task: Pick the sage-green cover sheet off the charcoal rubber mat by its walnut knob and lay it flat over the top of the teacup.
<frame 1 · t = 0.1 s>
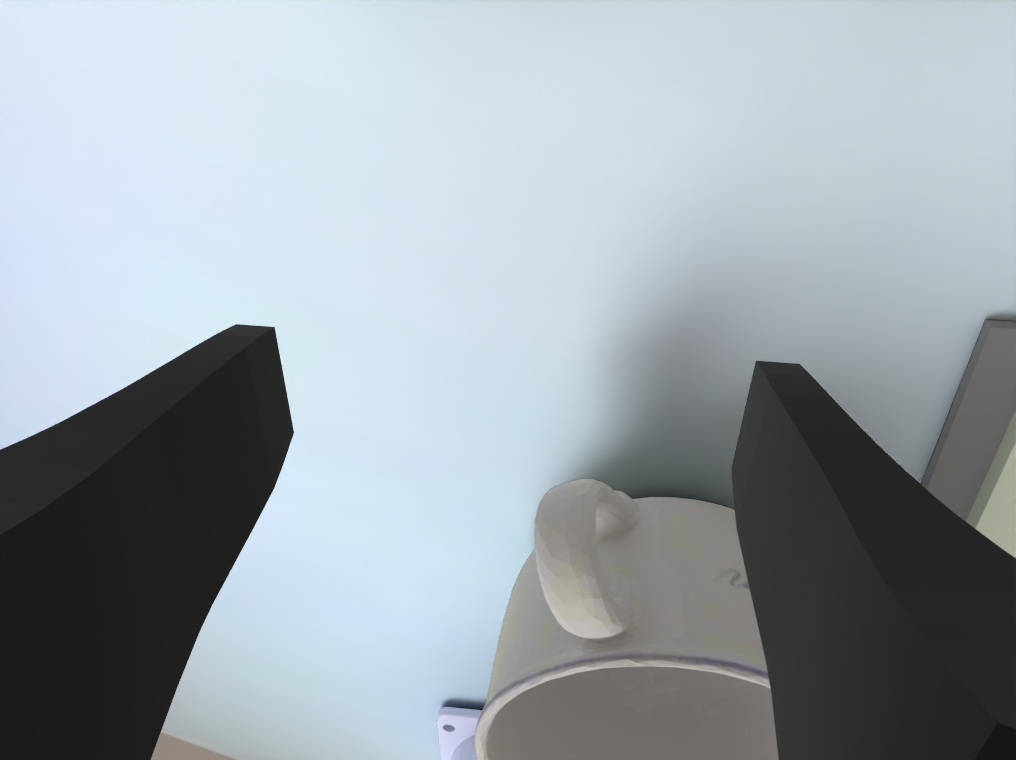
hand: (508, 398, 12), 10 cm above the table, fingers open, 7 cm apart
teacup: (650, 528, 27), on the table
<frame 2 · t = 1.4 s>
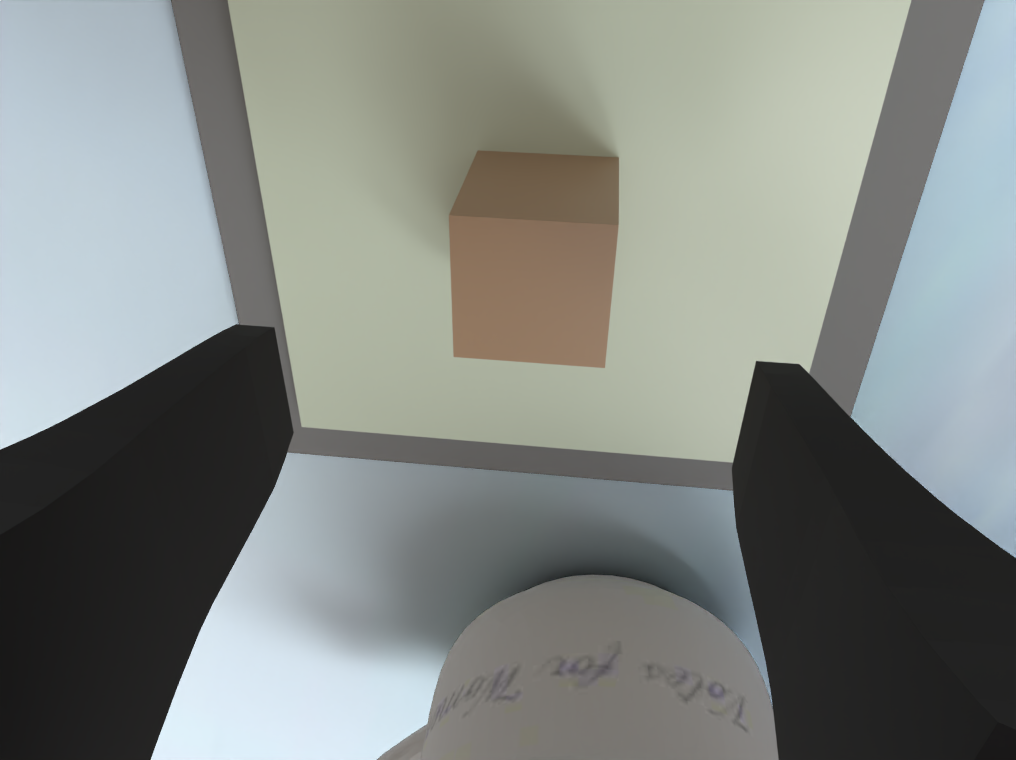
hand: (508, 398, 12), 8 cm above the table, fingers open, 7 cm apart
teacup: (559, 636, 28), on the table
sheet: (547, 209, 18), resting on mat
mat: (548, 202, 19), on the table
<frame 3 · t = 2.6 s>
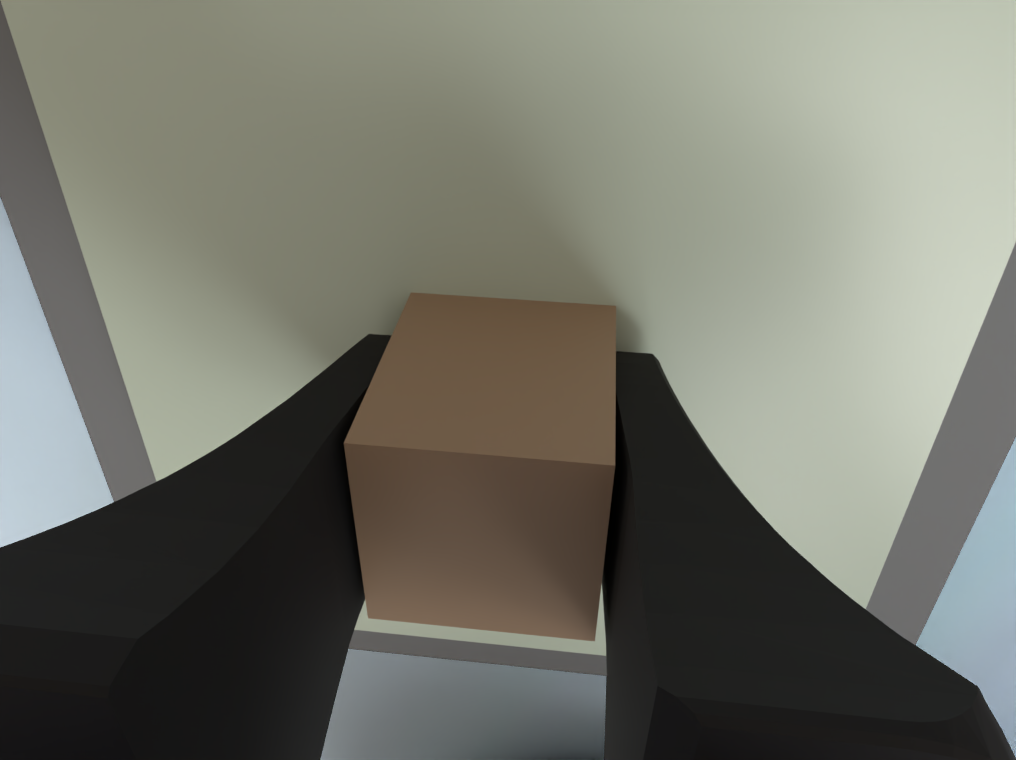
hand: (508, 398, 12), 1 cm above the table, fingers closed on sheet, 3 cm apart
sheet: (515, 362, 13), resting on mat, touching gripper
mat: (517, 349, 13), on the table
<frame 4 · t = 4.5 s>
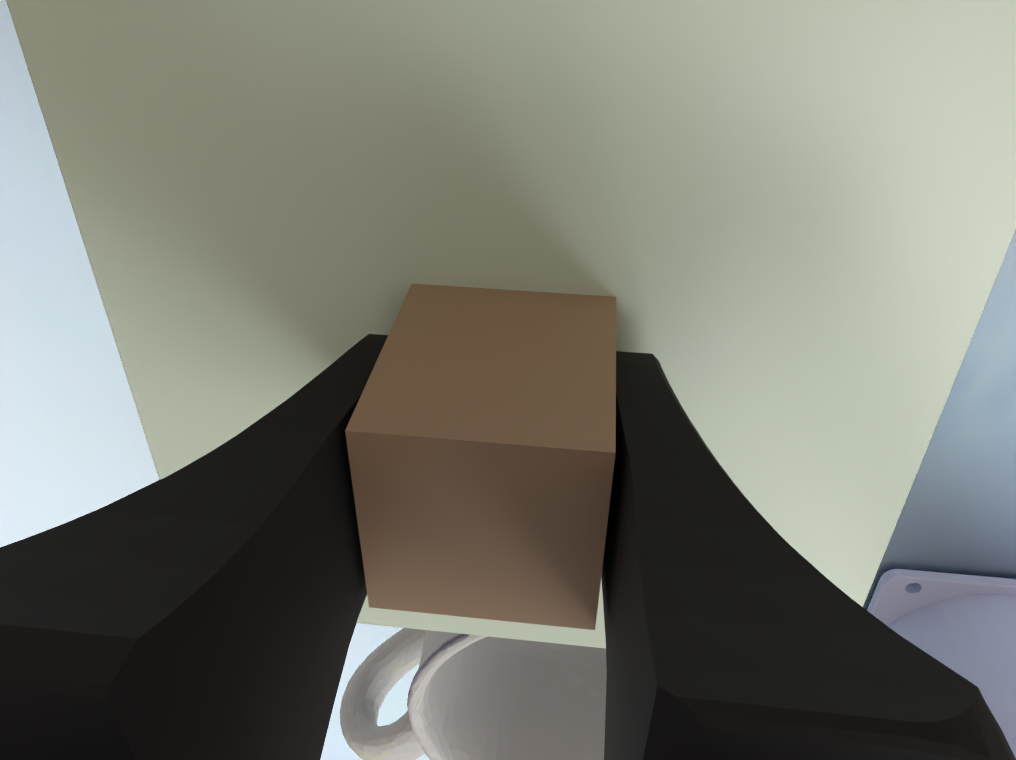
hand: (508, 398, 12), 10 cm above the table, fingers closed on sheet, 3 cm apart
teacup: (560, 528, 28), on the table
sheet: (515, 354, 13), point 9 cm above the table, touching gripper
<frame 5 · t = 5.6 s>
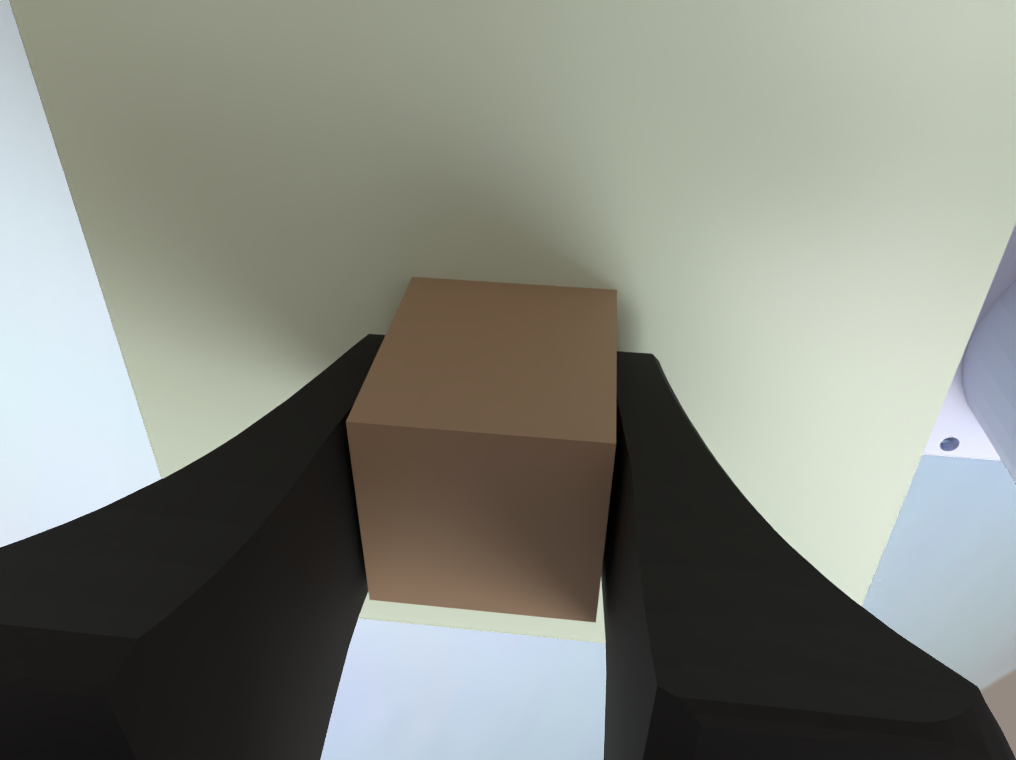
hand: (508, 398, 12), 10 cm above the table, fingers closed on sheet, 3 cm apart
sheet: (516, 348, 13), point 9 cm above the table, touching gripper
when the fingers open (10 cm above the table, at t = 6.3 s): sheet stays where it is, resting on teacup.
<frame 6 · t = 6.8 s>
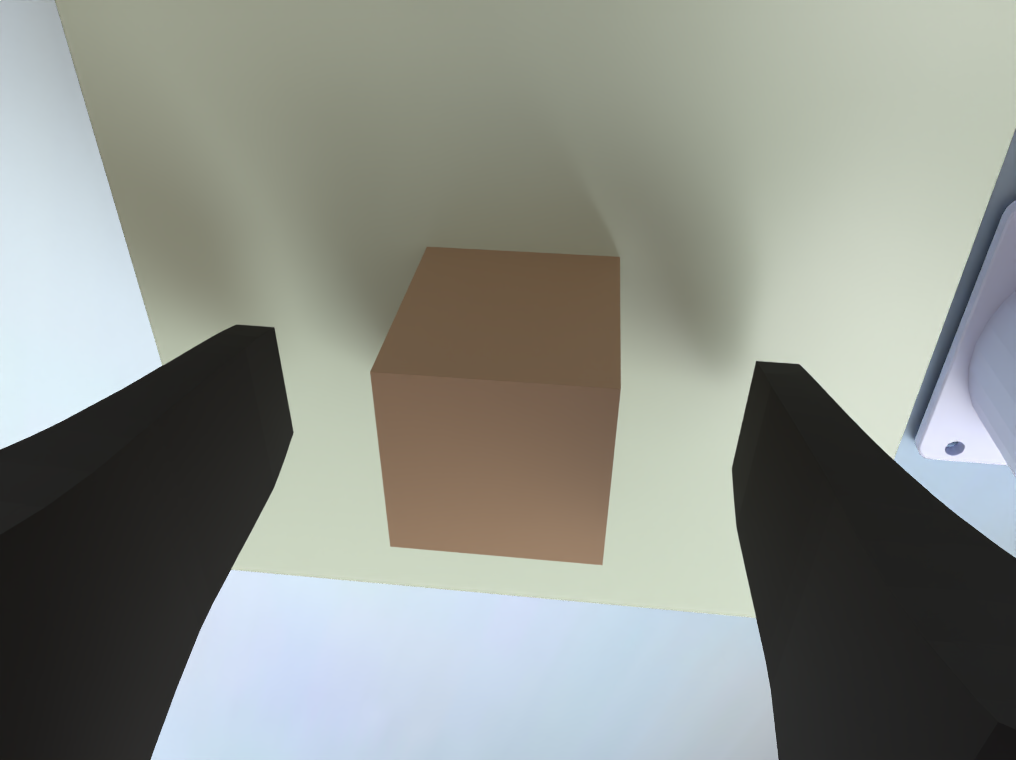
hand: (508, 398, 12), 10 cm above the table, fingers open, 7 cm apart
sheet: (524, 316, 14), point 8 cm above the table, touching teacup
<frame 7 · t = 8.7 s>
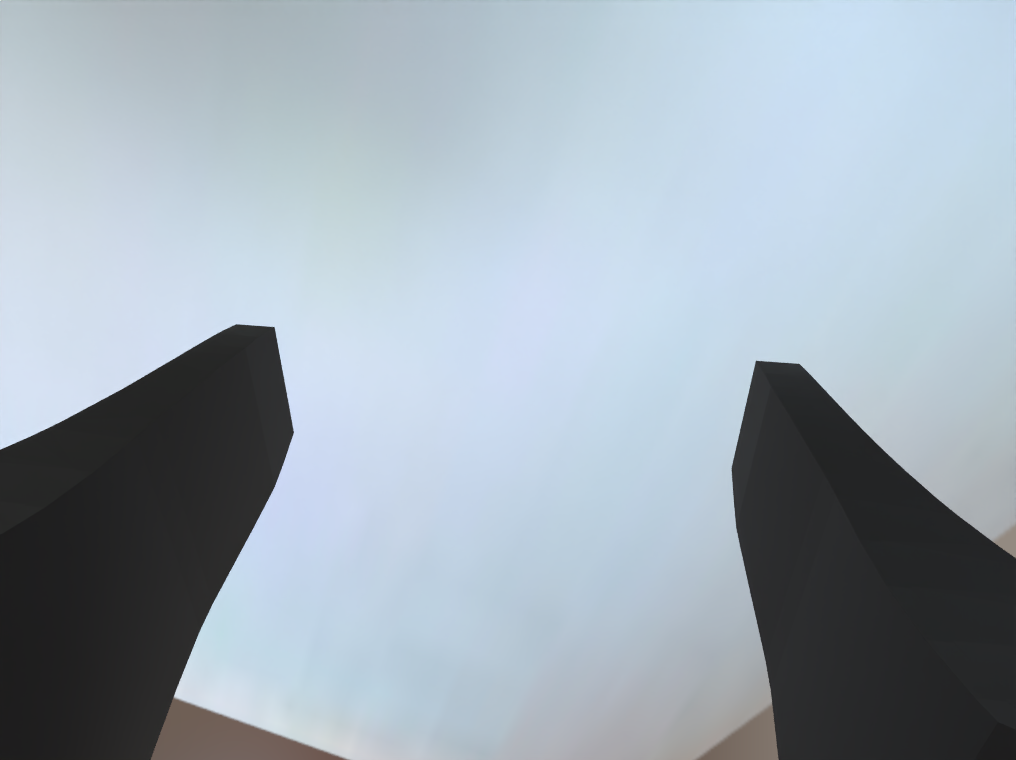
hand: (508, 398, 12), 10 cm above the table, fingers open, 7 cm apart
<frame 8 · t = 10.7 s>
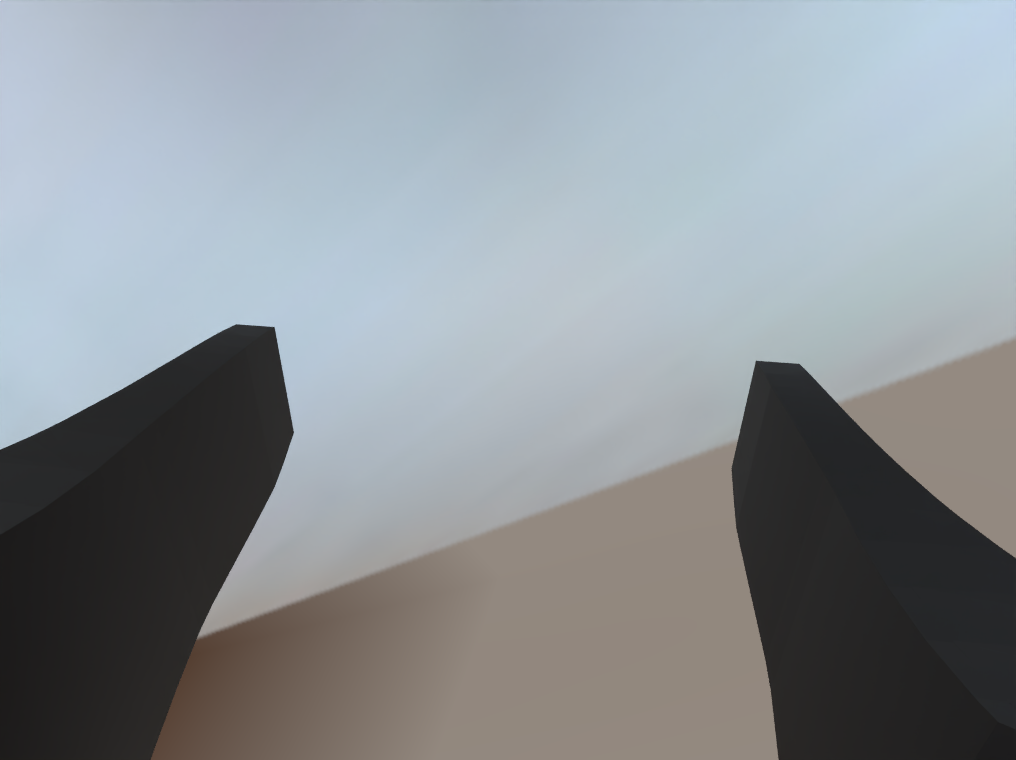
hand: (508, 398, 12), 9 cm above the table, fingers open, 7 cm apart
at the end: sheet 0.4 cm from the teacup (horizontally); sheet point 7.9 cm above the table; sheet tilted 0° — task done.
